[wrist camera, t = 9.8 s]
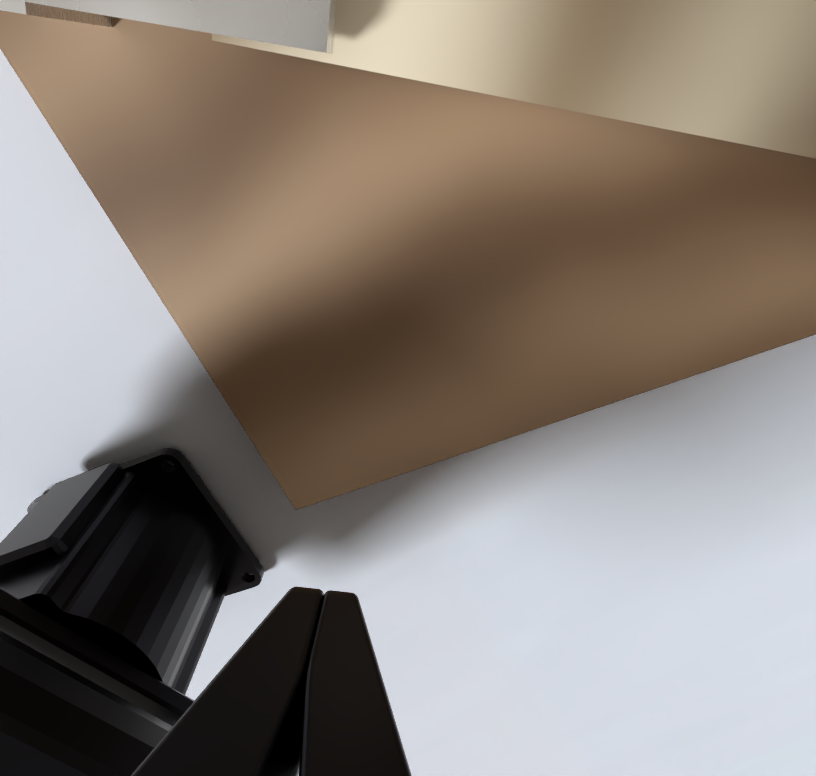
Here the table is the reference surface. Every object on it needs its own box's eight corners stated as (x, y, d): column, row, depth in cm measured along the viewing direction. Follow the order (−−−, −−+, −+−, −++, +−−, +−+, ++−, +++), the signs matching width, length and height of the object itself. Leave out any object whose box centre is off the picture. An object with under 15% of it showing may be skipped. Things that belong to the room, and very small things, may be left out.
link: (1072, 23, 13) (1222, 12, 11) (964, 209, 15) (1069, 236, 13) (244, -151, 12) (197, -209, 10) (236, 68, 14) (194, 66, 12)
